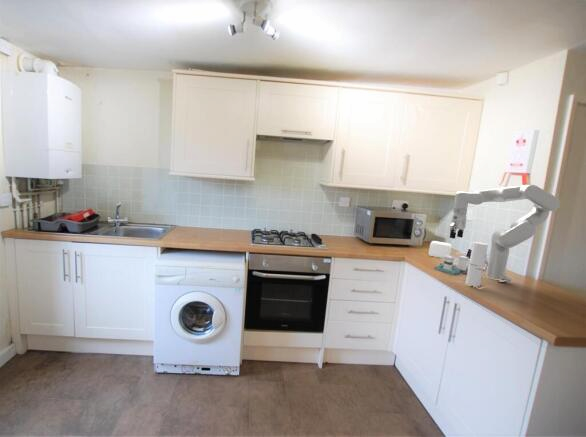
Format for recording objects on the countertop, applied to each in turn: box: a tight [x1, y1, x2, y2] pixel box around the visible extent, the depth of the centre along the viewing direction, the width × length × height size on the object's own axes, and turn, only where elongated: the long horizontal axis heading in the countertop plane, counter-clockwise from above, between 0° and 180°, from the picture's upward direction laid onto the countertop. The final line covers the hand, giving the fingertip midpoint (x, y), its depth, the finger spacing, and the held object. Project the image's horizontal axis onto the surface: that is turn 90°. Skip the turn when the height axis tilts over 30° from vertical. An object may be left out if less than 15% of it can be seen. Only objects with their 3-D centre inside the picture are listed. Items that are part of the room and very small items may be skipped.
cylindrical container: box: [465, 241, 489, 287], centre depth 170 cm, size 7×7×25 cm
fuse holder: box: [439, 262, 468, 275], centre depth 198 cm, size 16×8×3 cm, turn 34°
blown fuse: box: [443, 255, 455, 271], centre depth 193 cm, size 4×4×10 cm
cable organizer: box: [428, 240, 453, 259], centre depth 232 cm, size 15×11×12 cm
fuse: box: [457, 255, 470, 270], centre depth 194 cm, size 4×4×10 cm
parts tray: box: [434, 264, 461, 276], centre depth 193 cm, size 12×9×3 cm
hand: (456, 237), depth 192 cm, fingers open, 9 cm apart
